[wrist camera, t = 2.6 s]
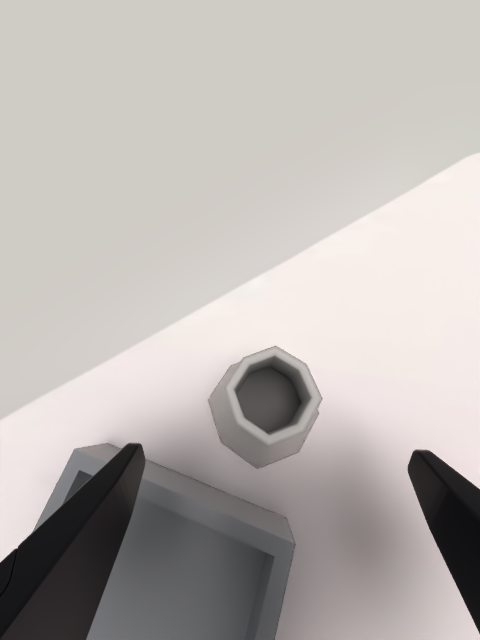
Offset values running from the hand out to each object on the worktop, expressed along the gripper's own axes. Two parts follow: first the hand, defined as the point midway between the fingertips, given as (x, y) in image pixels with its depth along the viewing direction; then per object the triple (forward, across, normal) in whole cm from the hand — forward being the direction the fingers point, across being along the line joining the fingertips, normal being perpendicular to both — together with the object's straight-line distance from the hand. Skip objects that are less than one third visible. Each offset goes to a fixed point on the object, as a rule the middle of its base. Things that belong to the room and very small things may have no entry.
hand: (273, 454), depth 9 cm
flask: (+8, 0, +6) cm, 10 cm away
